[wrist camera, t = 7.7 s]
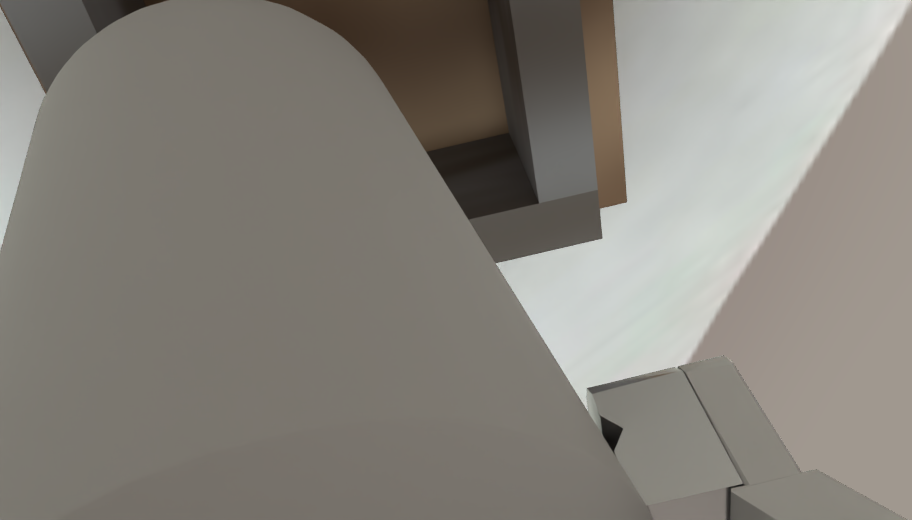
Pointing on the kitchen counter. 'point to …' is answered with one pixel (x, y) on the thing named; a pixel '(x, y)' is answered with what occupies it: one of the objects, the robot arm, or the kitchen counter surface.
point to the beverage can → (265, 300)
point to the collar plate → (456, 98)
